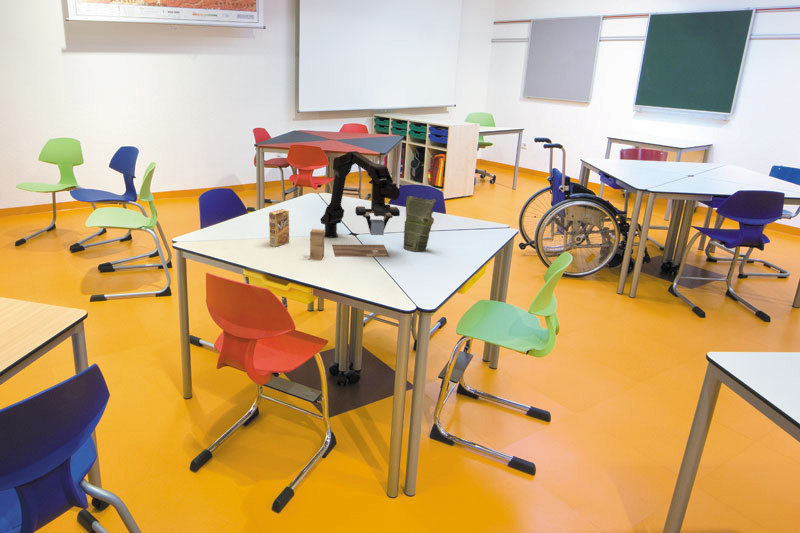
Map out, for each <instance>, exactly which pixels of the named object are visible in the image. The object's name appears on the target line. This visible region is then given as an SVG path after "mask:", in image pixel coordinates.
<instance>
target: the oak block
mask: <svg viewBox="0 0 800 533" xmlns="http://www.w3.org/2000/svg"><path fill="white" fill-rule="evenodd" d="M324 232H325V228H324V229H323V228H312V229H311V230H310V233H309V234H310V235H309V240H310V241H309V259H310V260H316V261H317V260H318V261H323V259H324V257H325V237H324Z"/></svg>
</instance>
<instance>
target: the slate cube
mask: <svg viewBox="0 0 800 533" xmlns="http://www.w3.org/2000/svg"><path fill="white" fill-rule="evenodd" d="M370 223H371V231H370V230H369V233H370V235H371V236H384V234H385V229H384V221H383V219H377V218H376V219H371V218H370Z"/></svg>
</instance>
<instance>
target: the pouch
mask: <svg viewBox="0 0 800 533" xmlns="http://www.w3.org/2000/svg"><path fill="white" fill-rule="evenodd" d="M436 202H437V200H436V199H435V198H431V199H427V198H425V199H423V196H420V197H416V196H412V195H409V196H406V202H405V217H406V219H405V221H404V226H403V227H404V230H403V231H404V232H403V234H404V235H403V249H404V250H406V251H409V252H412V253H413V252H414V253H416V252H417V253H419V252H423V253H424V252H425V251H426V249H427V247H428V243H429V239H430V232H431V229H432V226H433V225H434V223H435V222H434V221H435V219H434V217H433V213H434V211H433V207H434V206H435V203H436Z"/></svg>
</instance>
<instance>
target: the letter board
mask: <svg viewBox="0 0 800 533" xmlns="http://www.w3.org/2000/svg"><path fill="white" fill-rule="evenodd" d="M331 246H332V250H333V254H334V257H335V258H336V257H337V258H339V257H345V258H346V257H348V258H350V257H352V258H353V257H354V258H356V257H359V258H360V257H363V258H365V257H366V258H368V257H370V258H371V257H372V258H373V257H378V258H380V257H383V258H385V257H388V258H389V257H390V256H391V255H390V254H389V252H388V250H387V248H386V246H385V245H384V244H331Z"/></svg>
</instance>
